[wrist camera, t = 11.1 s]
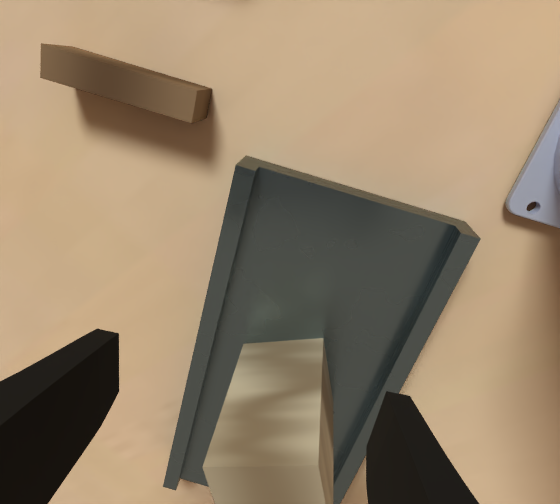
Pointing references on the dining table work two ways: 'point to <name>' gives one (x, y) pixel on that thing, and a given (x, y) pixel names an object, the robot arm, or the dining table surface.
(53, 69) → the socket
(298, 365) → the peg
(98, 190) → the dining table surface
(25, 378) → the robot arm
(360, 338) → the tray
